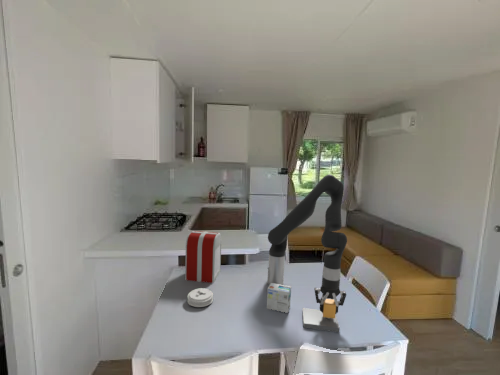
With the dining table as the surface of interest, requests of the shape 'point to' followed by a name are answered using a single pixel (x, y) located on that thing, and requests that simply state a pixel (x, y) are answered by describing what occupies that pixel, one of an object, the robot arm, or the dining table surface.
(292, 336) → the dining table surface
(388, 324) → the dining table surface
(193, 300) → the lid
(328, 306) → the orange block
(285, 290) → the light bulb box
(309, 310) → the plate
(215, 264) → the red striped box
